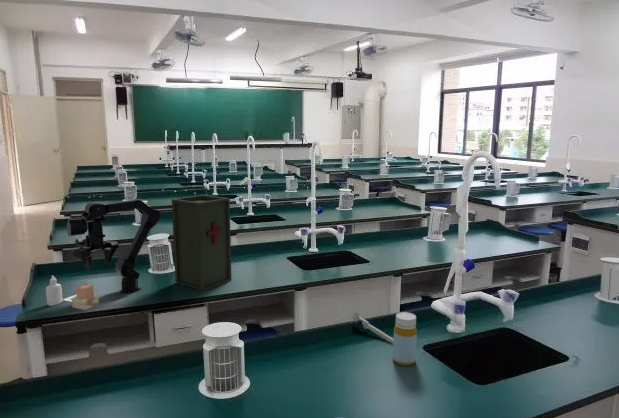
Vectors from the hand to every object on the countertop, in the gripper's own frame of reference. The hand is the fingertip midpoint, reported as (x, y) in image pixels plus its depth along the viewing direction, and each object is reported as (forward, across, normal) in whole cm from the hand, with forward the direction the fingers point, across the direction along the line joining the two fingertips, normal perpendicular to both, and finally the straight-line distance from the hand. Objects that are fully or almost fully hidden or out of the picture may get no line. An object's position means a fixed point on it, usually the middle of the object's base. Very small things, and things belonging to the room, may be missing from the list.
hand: (98, 268), depth 194 cm
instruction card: (+13, +5, -9) cm, 17 cm away
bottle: (+13, -1, +131) cm, 132 cm away
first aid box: (+13, -36, +27) cm, 47 cm away
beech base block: (+13, +9, +2) cm, 16 cm away
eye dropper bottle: (+13, +13, -11) cm, 22 cm away
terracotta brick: (+9, +9, +2) cm, 13 cm away
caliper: (+14, -15, +117) cm, 119 cm away
